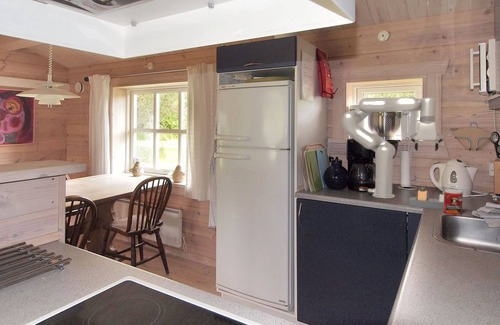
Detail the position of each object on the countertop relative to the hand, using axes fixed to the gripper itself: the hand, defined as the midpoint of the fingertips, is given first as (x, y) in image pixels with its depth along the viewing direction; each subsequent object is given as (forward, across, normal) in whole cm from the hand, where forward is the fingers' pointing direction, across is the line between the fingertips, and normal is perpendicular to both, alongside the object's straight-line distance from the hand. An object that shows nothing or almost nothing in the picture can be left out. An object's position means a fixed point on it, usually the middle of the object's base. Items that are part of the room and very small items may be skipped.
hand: (426, 150), depth 192 cm
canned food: (+28, +14, -26) cm, 41 cm away
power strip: (+28, +4, -16) cm, 33 cm away
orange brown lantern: (+28, 0, -16) cm, 33 cm away
